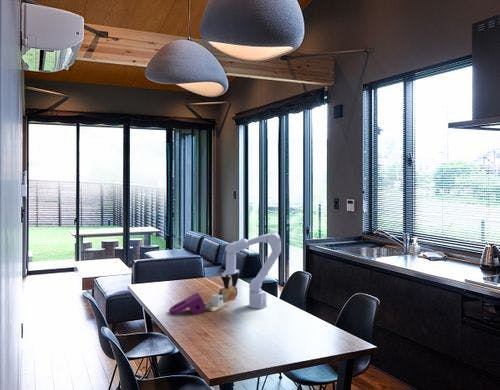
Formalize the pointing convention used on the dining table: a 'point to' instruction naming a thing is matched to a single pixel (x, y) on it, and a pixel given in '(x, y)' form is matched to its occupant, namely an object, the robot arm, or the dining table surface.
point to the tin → (228, 293)
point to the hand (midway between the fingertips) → (230, 287)
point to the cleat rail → (213, 308)
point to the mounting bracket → (189, 305)
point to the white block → (217, 300)
